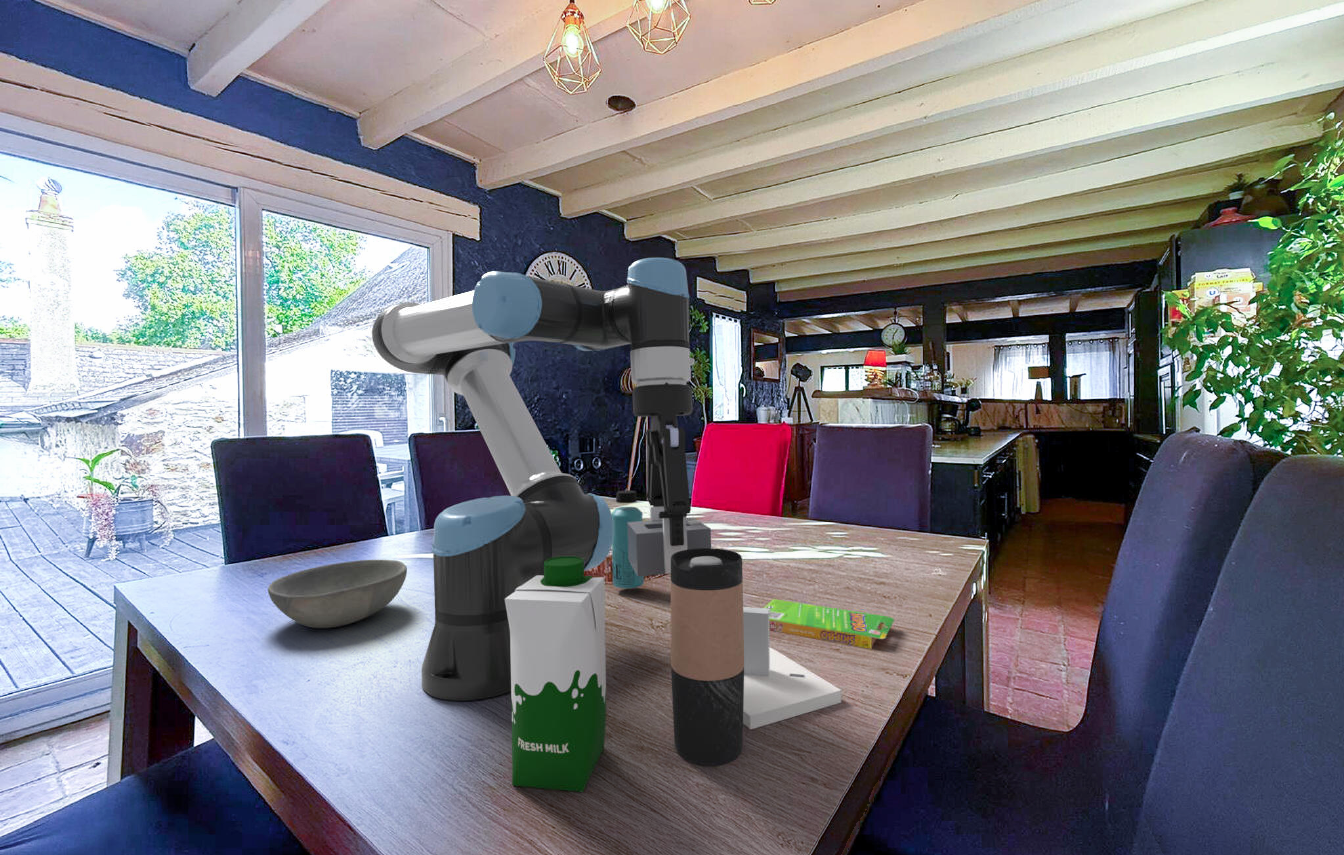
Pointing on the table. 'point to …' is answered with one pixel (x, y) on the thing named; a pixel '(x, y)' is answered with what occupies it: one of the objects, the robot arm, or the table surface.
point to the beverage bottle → (624, 542)
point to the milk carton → (557, 676)
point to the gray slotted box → (659, 544)
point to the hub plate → (777, 678)
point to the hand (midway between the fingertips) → (668, 562)
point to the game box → (828, 623)
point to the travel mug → (707, 655)
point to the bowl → (338, 592)
